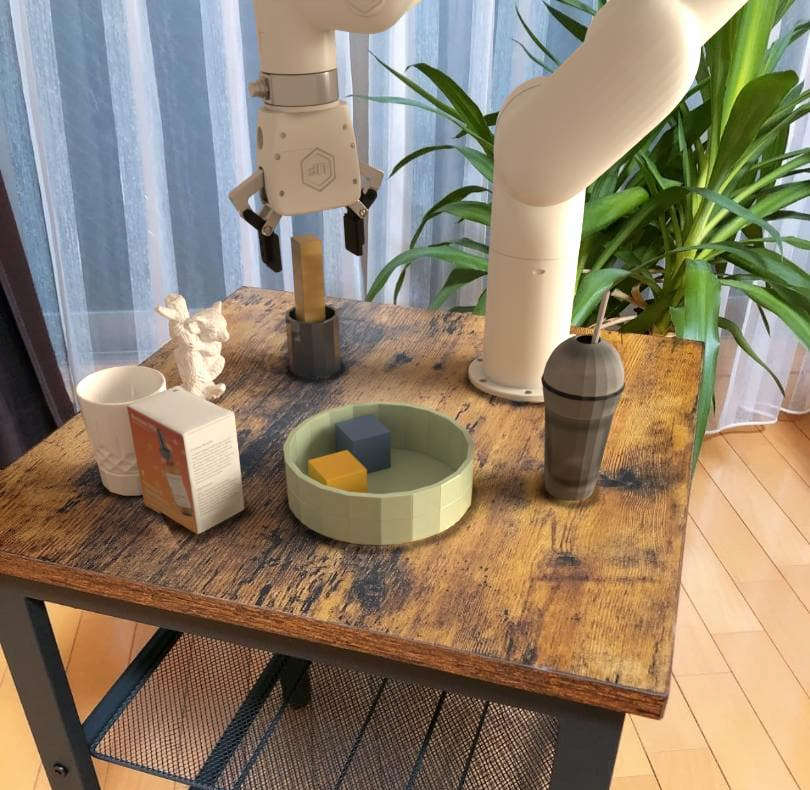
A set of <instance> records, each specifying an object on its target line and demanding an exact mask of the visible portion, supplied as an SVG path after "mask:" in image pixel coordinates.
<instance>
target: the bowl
mask: <svg viewBox="0 0 810 790" xmlns="http://www.w3.org/2000/svg"><path fill="white" fill-rule="evenodd" d="M371 414H372V415H373V416H374V417H375V418H376V419H377V420H378V421H380V422H381V423H382V424H383V425H384V426H385V427H386V428H387V429H388V430H389V431H390V455H391V468H387V469H384V470H380V471H376V472H373V473H369V474H367V493H358V492H348V491H344V490H341V489H337V488H333V487H329V486H325V485H323V484H321V483H319V482H317V481H315V480H313V479H312V478H310V477H309V471H308V460H311V459H315V458H319V457H323V456H326V455H330V454H334V453H336V437H335V423H338V422H342V421H346V420H350V419H354V418H358V417H362V416H366V415H371ZM475 451H476V443H475V441H474V440H473V437H472V436H471V433H470V432H469V430H468V429H467V428H466V427H465V426H463V425H462V424H461V423H460V422H458V420H456V419H455V418H454V417H452V416H450V415H447V414H445V413H443V412H441V411H438V410H437V409H434V408H431V407H426V406H422V405H418V404H412V403H410V402H409V403H408V402H399V401H397V402H396V401H383V400H381V401H380V400H379V401H378V400H377V401H365V402H354V403H353V402H352V403H348V404H343V405H340V406H335V407H332V408H327V409H324V410H322V411H320V412H317V413H315V414H313V415H312V416H310V417H307V418H305V419H304V420H302V421H301V422H300V423H299V424H298V425H297V426H295V427H294V428H293V429H292V430H290V432H289V433H288V435H287V437H286V439H285V442H284V444H283V446H282V452H283V464H284V465H283V466H284V475H285V476H284V477H285V486H286V487H285V488H286V495H287V501H288V508H289V509H290V510H291V512H292V513H293V514H294V516H295V517H296V518H297V519H298V521H300V523H302V525H304V526H306V527H307V528H308V529H310V530H312V531H315V532H316V533H318V534H320V535H322V536H325V537H327V538H330V539H333V540H336V541H339V542H344V543H349V544H356V545H366V546H393V545H400V544H407V543H413V542H417V541H420V540H424V539H428V538H430V537H433V536H435V535H438V534H440V533H441V532H444V531H446V530H447V529H449V528H450V527H452V526H453V525H455V524H456V523H458V522H459V521H460V520H461V518H463V516H464V515H465V514H466V512H467V511H468V509H469V508H470V507H471V505H472V499H473V488H474V473H475V472H474V471H475V455H476V452H475Z"/></svg>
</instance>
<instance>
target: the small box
mask: <svg viewBox="0 0 810 790" xmlns="http://www.w3.org/2000/svg"><path fill="white" fill-rule="evenodd" d="M127 410H128V416H129V421H130V426H131V432H132V437H133V443H134V449H135V454H136V459H137V465H138V470H139V476H140V481H141V487H142V492H143V495H142V497H143V502H144V505H145V507H147V508H149V509H151V510H153V511H155V512H156V513H158V514H159V515H162V514H163V515H165V516H166V517H168V518H170V519H171V520H173V521H175V522H176V523H178V524H179V525H181V526H183V527H185V528H187V529H188V530H190V531H192V532H193V533H194V534H196V535H199V534H201V533H204V532H205V531H207V530H209V529H212V528H213V527H215V526H217V525H218V524H220V523H222V522H224V521H226V520H228V519H229V518H231V517H233V516H235V515H237V514H238V513H240V512H242V511H244V510H245V499H244V490H243V482H242V481H243V480H242V472H241V462H240V453H239V443H238V436H237V435H238V434H237V433H238V432H237V426H236V417H235V416H236V415H235V412H233V411H232V410H230V409H228V408H224V407H221V406H220V405H217V404H215V403H213V402H211V401H209V400H207V399H203V398H201V397H199V396H197V395H195V394H193V393H191V392H189V391H187V390H185V389H184V388H182V387H180V385H174V386H171V387H170V388H166V390H164V391H162V392H159V393H157V394H155V395H152V396H150V397H147V398H145V399H142V400H140V401H137V402H135V403H132V404H130V405H128V406H127Z"/></svg>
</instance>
